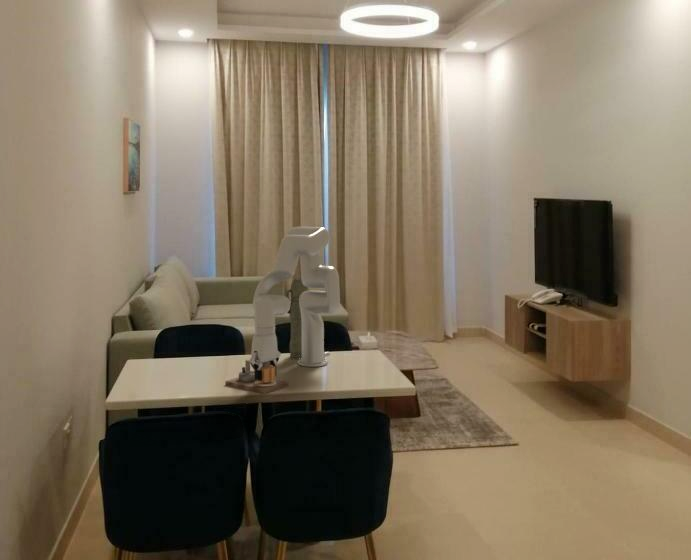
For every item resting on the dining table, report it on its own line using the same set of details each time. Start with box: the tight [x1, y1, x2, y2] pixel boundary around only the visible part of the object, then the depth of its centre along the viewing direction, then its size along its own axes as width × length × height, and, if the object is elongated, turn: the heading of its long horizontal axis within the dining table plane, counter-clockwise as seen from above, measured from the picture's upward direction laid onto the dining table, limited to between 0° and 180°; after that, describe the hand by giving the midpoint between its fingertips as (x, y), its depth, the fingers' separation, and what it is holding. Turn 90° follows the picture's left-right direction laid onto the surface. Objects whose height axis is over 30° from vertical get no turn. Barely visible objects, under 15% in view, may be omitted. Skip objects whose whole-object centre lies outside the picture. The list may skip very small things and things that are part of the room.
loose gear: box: [256, 365, 276, 383], centre depth 257 cm, size 7×7×5 cm
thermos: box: [285, 278, 310, 360], centre depth 307 cm, size 9×12×35 cm
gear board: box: [224, 359, 289, 394], centre depth 260 cm, size 20×13×9 cm, turn 54°
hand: (265, 377), depth 257 cm, fingers closed on loose gear, 7 cm apart
